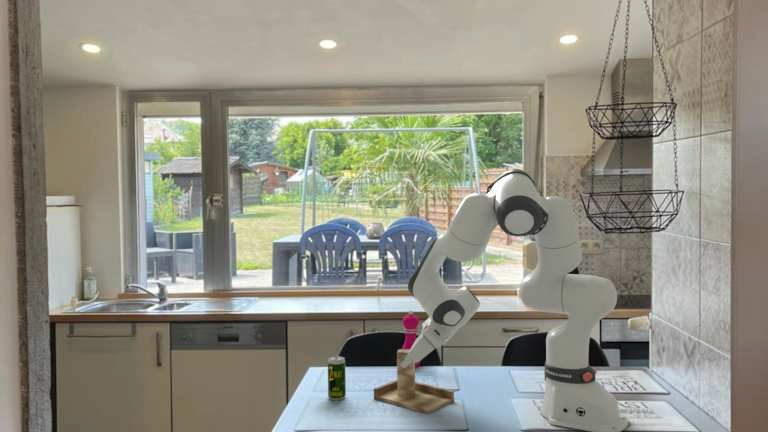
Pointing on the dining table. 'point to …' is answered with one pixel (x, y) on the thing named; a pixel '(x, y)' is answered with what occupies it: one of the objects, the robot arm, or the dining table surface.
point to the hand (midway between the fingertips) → (404, 361)
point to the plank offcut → (405, 375)
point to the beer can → (336, 378)
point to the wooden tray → (415, 397)
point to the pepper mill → (410, 331)
